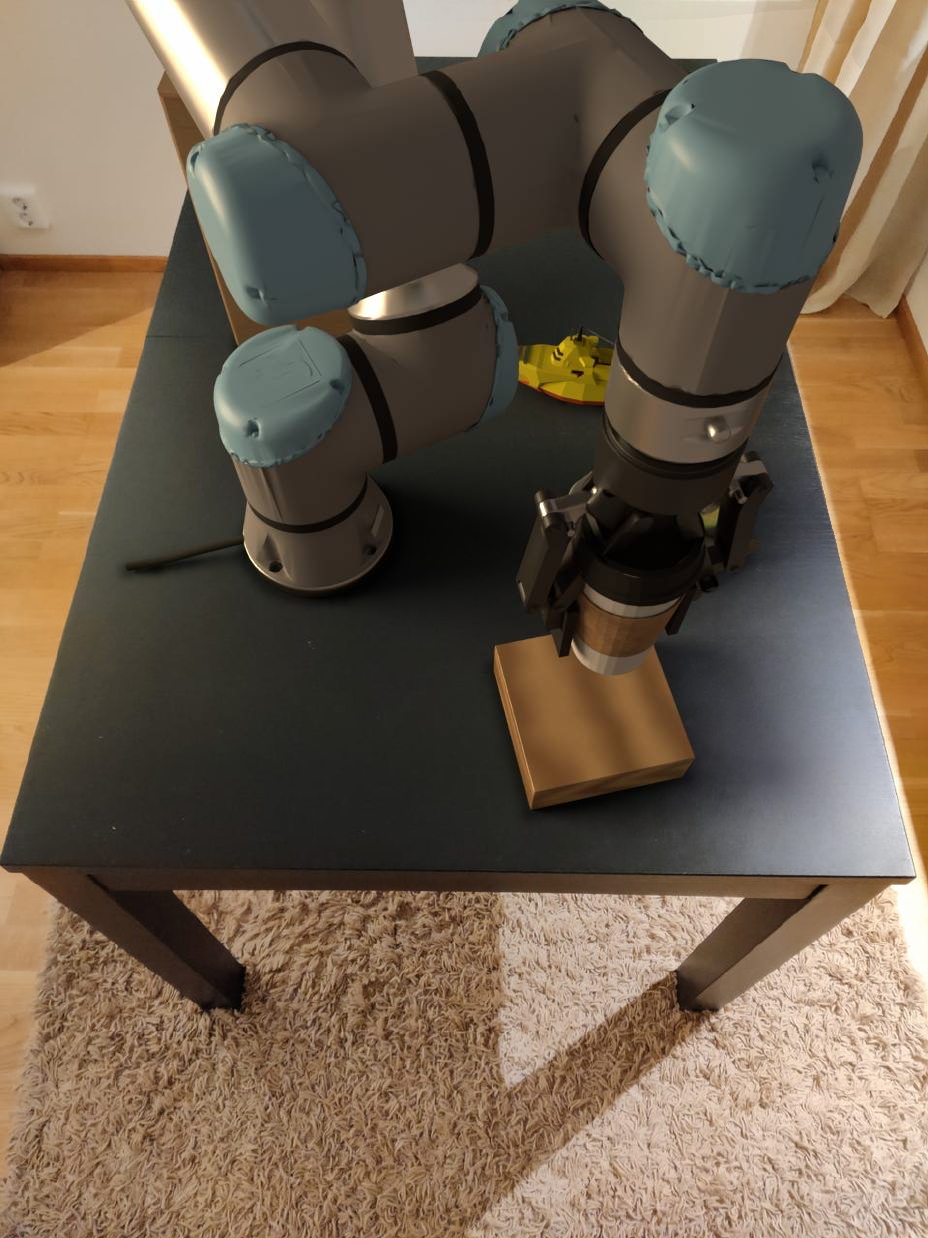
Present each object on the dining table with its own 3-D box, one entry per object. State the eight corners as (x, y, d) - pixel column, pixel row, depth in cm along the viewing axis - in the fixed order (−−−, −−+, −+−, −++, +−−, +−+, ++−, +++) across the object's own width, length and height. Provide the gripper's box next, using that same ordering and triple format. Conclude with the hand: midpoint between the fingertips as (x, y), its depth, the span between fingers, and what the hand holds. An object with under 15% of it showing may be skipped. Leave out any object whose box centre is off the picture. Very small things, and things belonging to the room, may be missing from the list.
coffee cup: (530, 637, 65) (544, 520, 52) (608, 574, 67) (640, 448, 54) (611, 713, 62) (648, 610, 49) (689, 644, 64) (744, 528, 51)
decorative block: (367, 309, 106) (333, 50, 79) (360, 352, 102) (321, 96, 76) (248, 304, 106) (174, 46, 80) (236, 348, 103) (155, 91, 76)
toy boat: (657, 426, 96) (675, 359, 87) (499, 403, 98) (502, 335, 89) (662, 385, 99) (680, 316, 90) (509, 364, 101) (512, 294, 92)
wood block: (530, 810, 75) (534, 792, 70) (493, 669, 81) (494, 645, 77) (682, 777, 76) (695, 757, 72) (634, 641, 83) (643, 615, 78)
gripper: (498, 508, 40) (490, 703, 60) (898, 434, 42) (762, 647, 62) (464, 393, 44) (467, 613, 64) (834, 330, 46) (725, 562, 66)
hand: (613, 629), depth 63 cm, fingers closed on coffee cup, 8 cm apart
